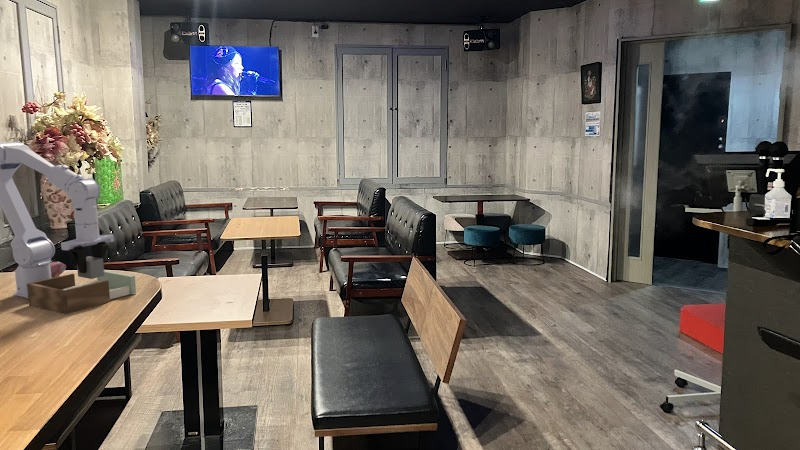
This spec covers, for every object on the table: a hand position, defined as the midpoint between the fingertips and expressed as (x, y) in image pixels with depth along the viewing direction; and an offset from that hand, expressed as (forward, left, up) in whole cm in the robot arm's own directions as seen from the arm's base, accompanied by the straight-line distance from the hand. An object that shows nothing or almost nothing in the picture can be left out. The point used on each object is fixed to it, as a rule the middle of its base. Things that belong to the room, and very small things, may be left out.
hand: (90, 271), depth 177 cm
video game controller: (-29, +6, -8) cm, 31 cm away
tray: (0, +2, -7) cm, 8 cm away
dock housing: (0, -6, -8) cm, 10 cm away
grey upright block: (0, 0, -2) cm, 2 cm away
